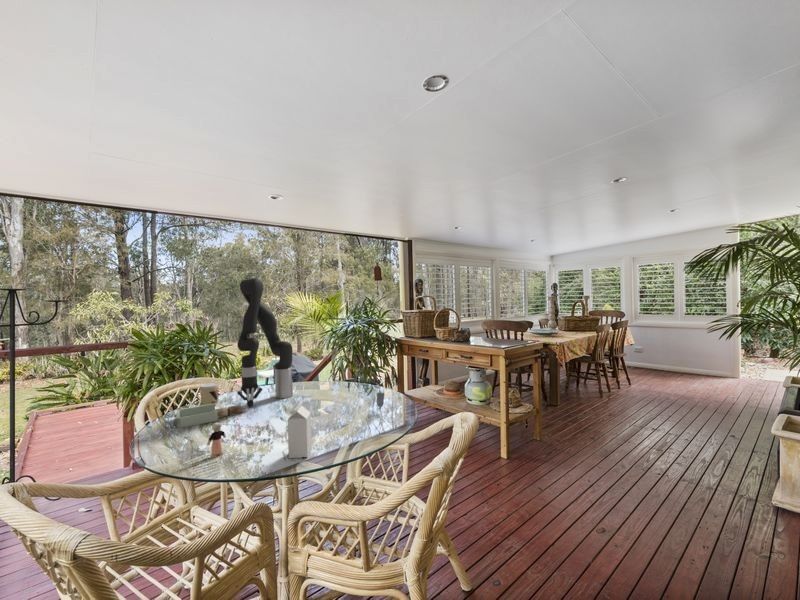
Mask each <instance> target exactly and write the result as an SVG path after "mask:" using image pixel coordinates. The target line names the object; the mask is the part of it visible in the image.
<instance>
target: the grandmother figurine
mask: <svg viewBox="0 0 800 600" xmlns="http://www.w3.org/2000/svg"><path fill="white" fill-rule="evenodd" d="M221 428H222V423H220V422H218V421H217V422H216V421H215V422H214V423H213V424H212V426H211V429H212V430H213V432H212V433H211V435H210V436H209V438H208V441H207V443H206V444H207V446H210V445H211V443H212V445H211V452H210V453H211V454H210V457H211V458H212V459H215V458H217V457H218V456H221V455H223V453H224V452H223V447H222V438H223V439H225V438H226V437H227V435H226V433H225V432H224V431H223V430H221Z"/></svg>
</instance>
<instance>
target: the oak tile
mask: <svg viewBox="0 0 800 600" xmlns="http://www.w3.org/2000/svg"><path fill="white" fill-rule="evenodd" d="M214 411H217V415H218V419H219V418H223V417H227V416H229V413H228V407H222V408H215V409H214V410H213V412H214Z"/></svg>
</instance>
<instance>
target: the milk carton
mask: <svg viewBox="0 0 800 600" xmlns="http://www.w3.org/2000/svg"><path fill="white" fill-rule="evenodd" d="M290 413H291V415H290V416H289V417H288V419H287V440H288V443H287V444H288V446H287V447H288V459H298V458H299V459H301V458H302V457H307V458H308V457H309V456H308V455H310V454H311V451H312V419H311V417H312V416H311V414H312V413H311V411H310V410H308V409H307V408H306V407H305V406H303V402H300V404H299V405H298V406H297V407H296V408H295V407H294V408H293V409H292V410H290ZM302 459H303V458H302Z"/></svg>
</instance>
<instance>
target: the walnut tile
mask: <svg viewBox="0 0 800 600" xmlns="http://www.w3.org/2000/svg"><path fill="white" fill-rule="evenodd" d="M227 410H228V415H229V416H233V415H238V414H243V413H244V410H243V406H242V405H241V404H238V405H233V406H228V407H227Z"/></svg>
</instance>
